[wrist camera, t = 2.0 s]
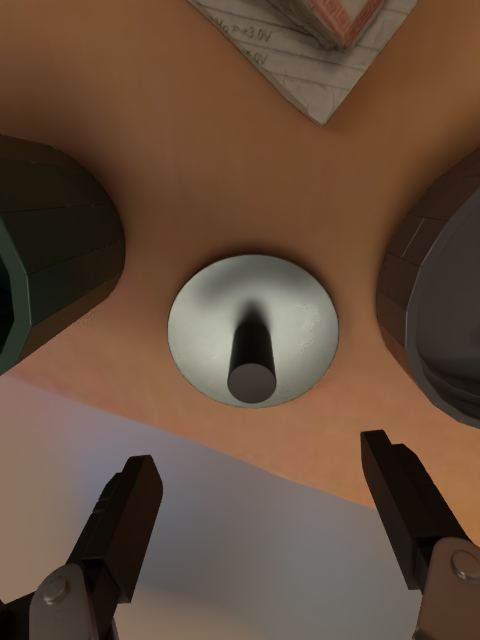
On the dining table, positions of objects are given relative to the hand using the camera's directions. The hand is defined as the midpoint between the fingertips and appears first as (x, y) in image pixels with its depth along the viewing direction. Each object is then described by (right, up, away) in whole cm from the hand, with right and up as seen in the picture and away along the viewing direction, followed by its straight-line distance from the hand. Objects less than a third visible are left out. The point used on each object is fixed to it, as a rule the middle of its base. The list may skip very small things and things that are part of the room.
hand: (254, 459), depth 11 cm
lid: (0, +4, +9) cm, 10 cm away
